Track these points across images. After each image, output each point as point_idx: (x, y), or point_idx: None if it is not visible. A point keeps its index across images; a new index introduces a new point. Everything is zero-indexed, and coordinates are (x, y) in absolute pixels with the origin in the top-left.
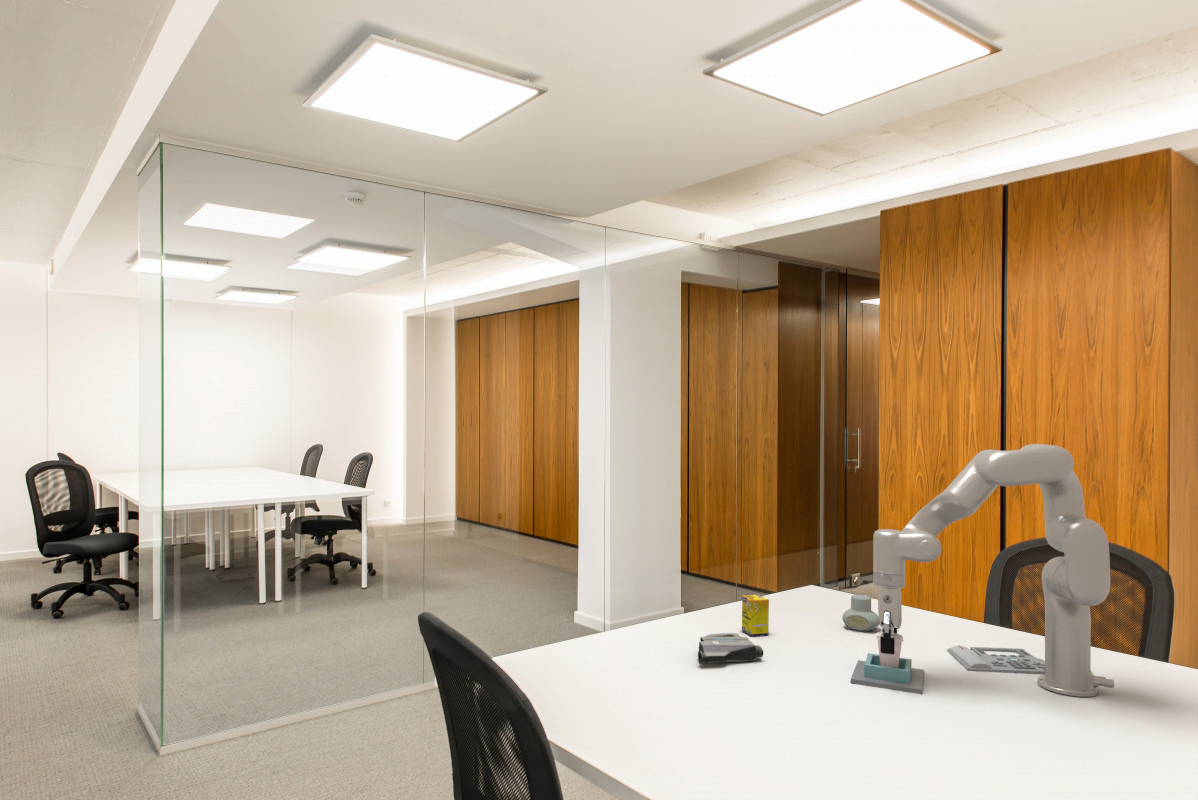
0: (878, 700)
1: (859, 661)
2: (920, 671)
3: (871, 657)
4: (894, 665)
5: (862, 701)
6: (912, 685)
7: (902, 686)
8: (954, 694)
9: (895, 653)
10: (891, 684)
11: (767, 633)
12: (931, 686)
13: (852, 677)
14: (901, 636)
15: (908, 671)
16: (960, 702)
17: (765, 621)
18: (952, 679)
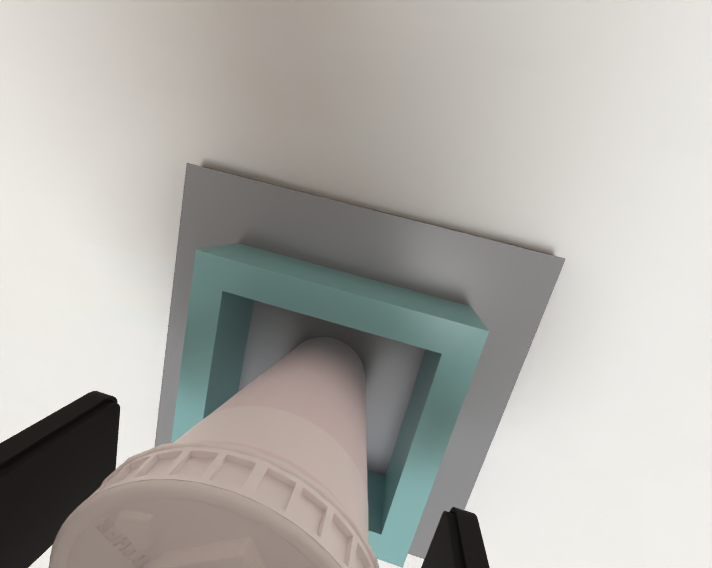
0: (681, 492)
1: None
2: (227, 191)
3: None
4: (362, 395)
5: (701, 562)
6: (496, 295)
7: (523, 355)
8: (532, 52)
9: (361, 451)
10: (496, 403)
11: None
12: (409, 169)
13: (420, 553)
14: (194, 502)
15: (486, 337)
16: (686, 42)
17: None
18: (250, 7)
